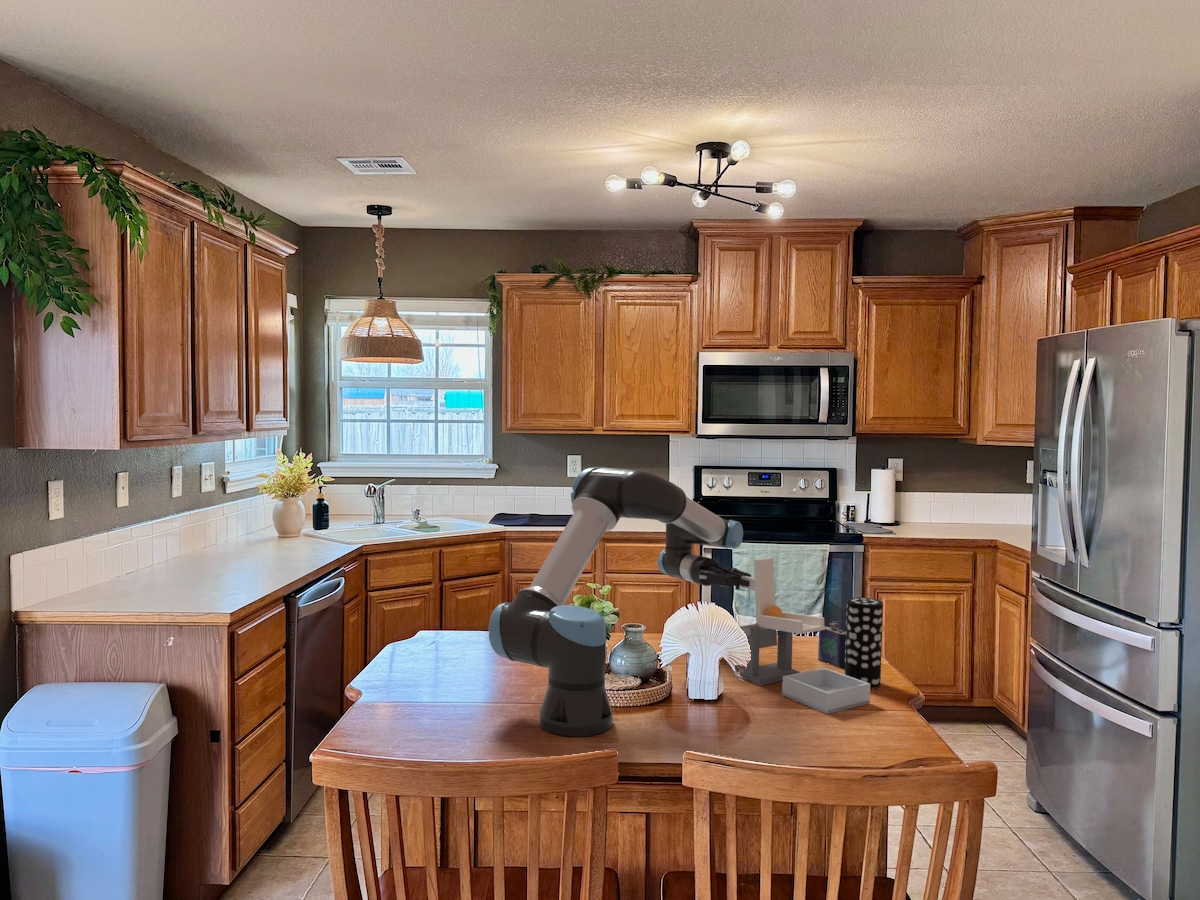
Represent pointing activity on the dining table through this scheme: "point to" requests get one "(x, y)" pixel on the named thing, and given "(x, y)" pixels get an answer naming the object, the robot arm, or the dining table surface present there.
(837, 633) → the flask
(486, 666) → the dining table surface
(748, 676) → the stand
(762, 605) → the chute
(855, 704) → the grey storage tray
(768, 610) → the ball
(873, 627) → the spotted tube
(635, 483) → the robot arm
